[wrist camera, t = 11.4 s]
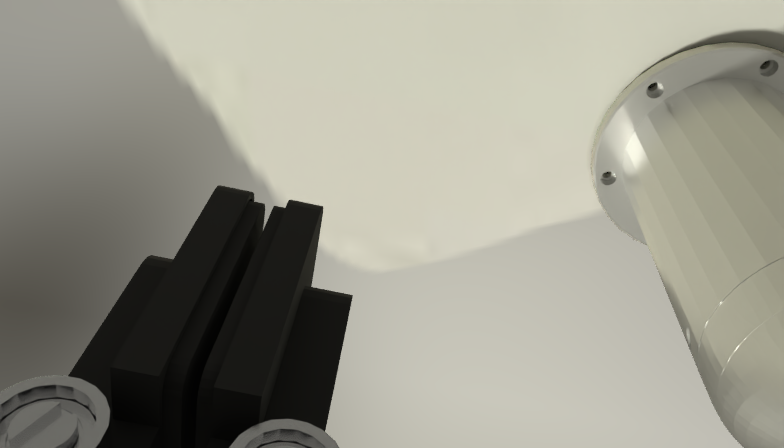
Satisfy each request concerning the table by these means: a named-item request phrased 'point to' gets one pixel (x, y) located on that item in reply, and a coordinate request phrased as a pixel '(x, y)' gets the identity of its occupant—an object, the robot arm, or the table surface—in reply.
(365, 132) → the table surface
